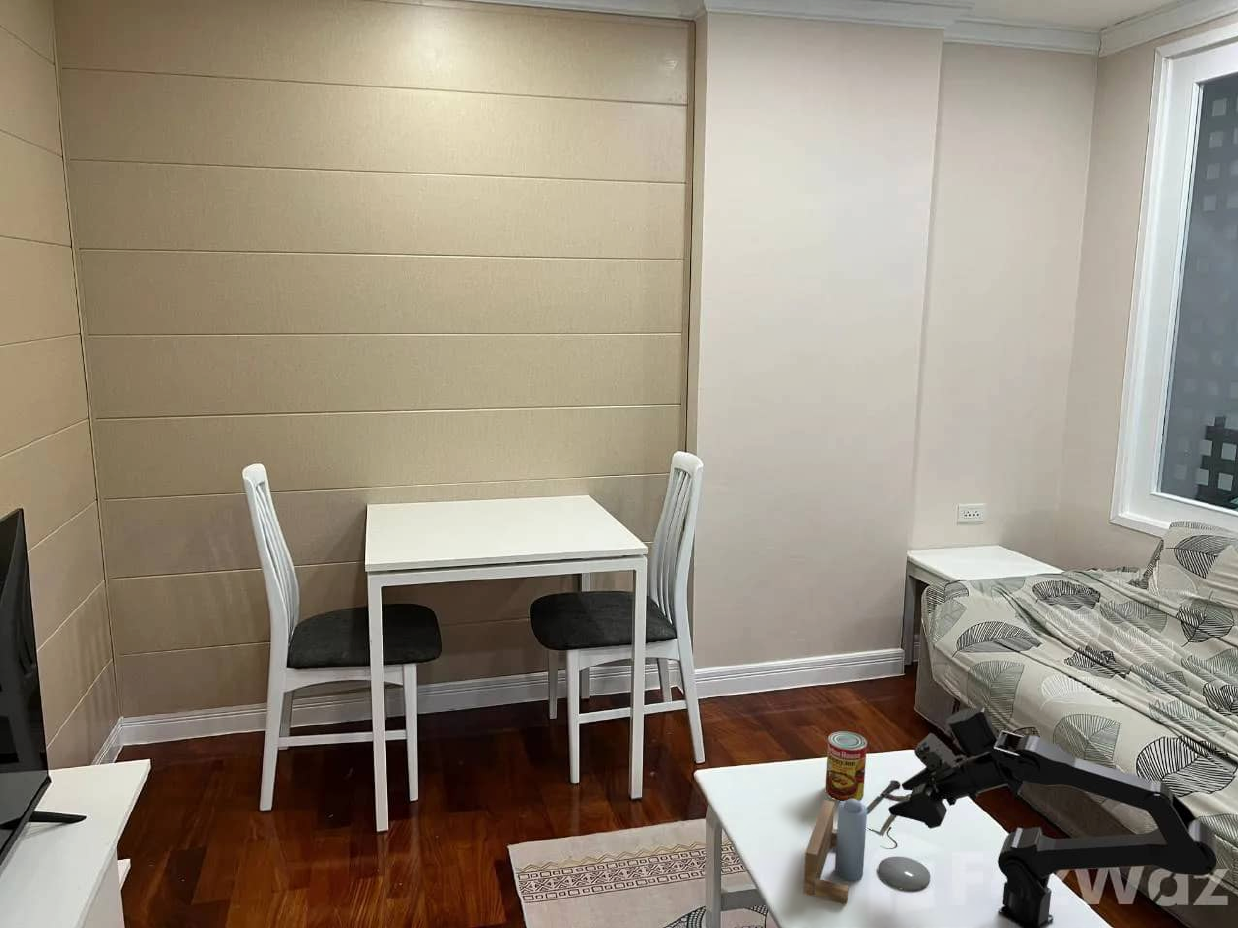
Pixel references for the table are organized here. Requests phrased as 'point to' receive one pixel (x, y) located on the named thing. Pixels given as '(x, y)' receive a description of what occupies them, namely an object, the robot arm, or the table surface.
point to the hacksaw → (890, 819)
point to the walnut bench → (822, 858)
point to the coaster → (904, 873)
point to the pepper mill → (850, 840)
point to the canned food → (845, 766)
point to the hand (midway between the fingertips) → (896, 798)
